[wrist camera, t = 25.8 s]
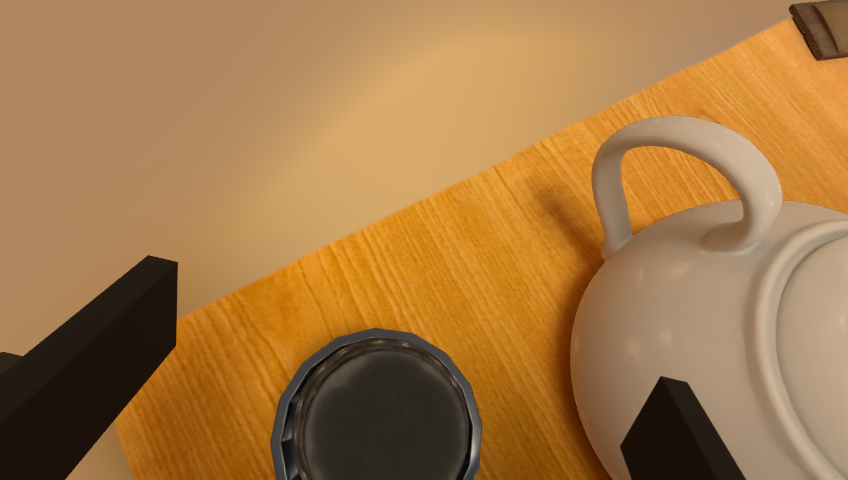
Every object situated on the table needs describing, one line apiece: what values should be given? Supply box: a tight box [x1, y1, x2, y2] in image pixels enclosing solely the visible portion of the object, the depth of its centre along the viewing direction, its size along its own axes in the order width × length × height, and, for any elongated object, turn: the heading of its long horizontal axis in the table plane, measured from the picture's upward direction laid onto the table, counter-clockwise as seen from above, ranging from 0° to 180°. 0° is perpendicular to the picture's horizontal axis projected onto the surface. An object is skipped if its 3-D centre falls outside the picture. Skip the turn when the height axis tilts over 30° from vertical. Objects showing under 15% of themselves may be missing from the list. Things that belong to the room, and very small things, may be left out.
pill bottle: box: [291, 338, 469, 480], centre depth 19 cm, size 6×6×11 cm
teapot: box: [570, 115, 848, 480], centre depth 21 cm, size 19×18×14 cm
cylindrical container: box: [270, 328, 482, 480], centre depth 22 cm, size 8×8×6 cm
